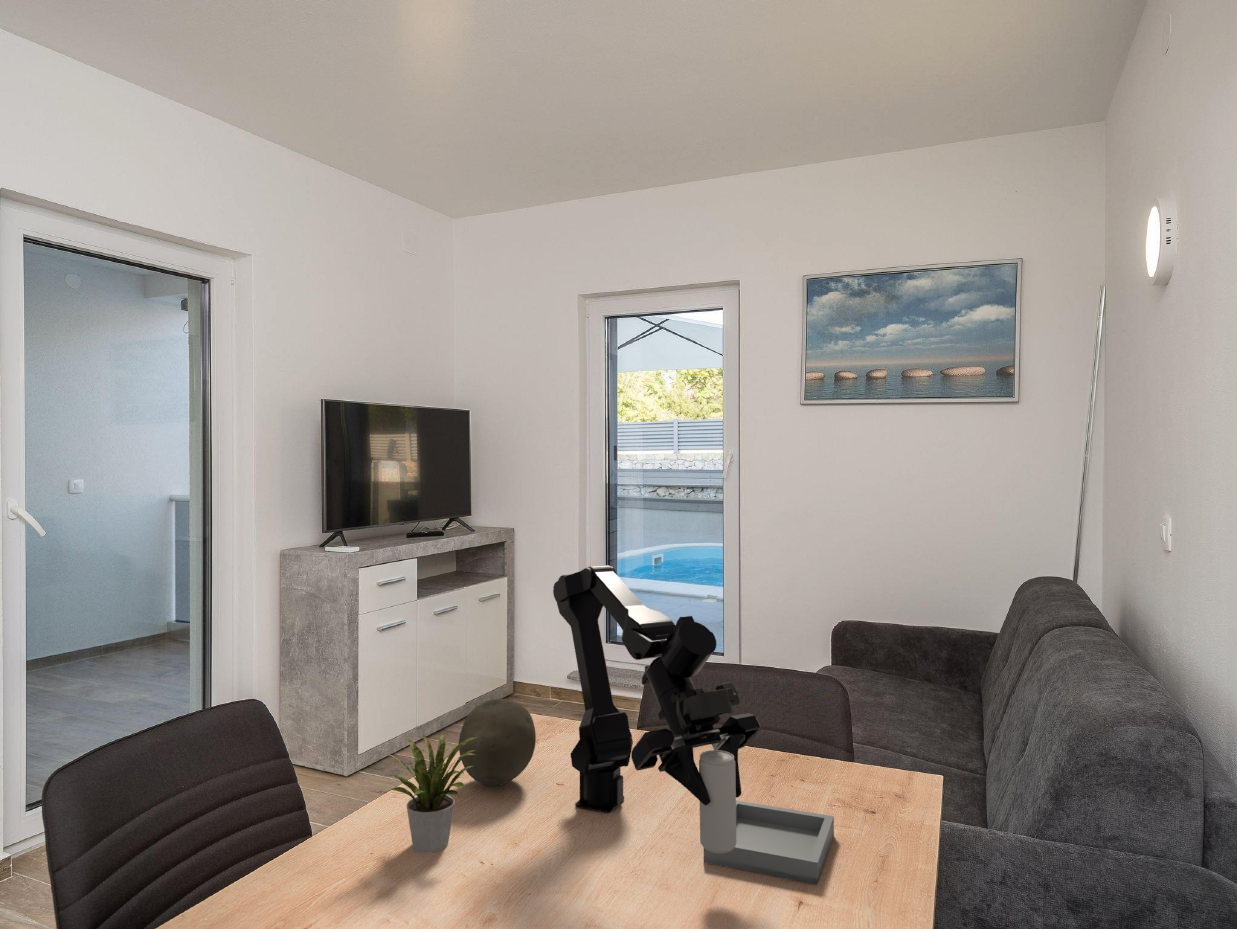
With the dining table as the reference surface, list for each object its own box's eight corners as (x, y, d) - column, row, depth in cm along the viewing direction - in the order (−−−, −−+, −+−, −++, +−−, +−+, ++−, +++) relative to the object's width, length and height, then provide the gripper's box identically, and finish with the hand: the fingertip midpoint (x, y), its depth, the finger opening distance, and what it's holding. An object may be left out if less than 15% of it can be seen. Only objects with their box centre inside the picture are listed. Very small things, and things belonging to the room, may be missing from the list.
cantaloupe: (440, 787, 142) (441, 702, 142) (501, 765, 152) (501, 686, 153) (492, 808, 132) (493, 718, 133) (553, 784, 143) (554, 699, 143)
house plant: (504, 831, 124) (504, 726, 124) (457, 873, 111) (458, 755, 111) (424, 818, 129) (425, 716, 129) (370, 857, 115) (371, 743, 116)
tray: (703, 862, 114) (703, 841, 114) (732, 818, 129) (732, 799, 129) (817, 885, 108) (817, 862, 108) (833, 835, 123) (833, 816, 123)
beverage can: (735, 856, 104) (734, 764, 104) (698, 853, 105) (697, 761, 105) (737, 839, 108) (736, 750, 108) (702, 836, 109) (700, 748, 109)
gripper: (643, 672, 105) (691, 785, 96) (753, 656, 115) (807, 757, 105) (612, 715, 112) (655, 825, 102) (719, 697, 121) (767, 796, 112)
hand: (723, 799), depth 105 cm, fingers closed on beverage can, 5 cm apart
